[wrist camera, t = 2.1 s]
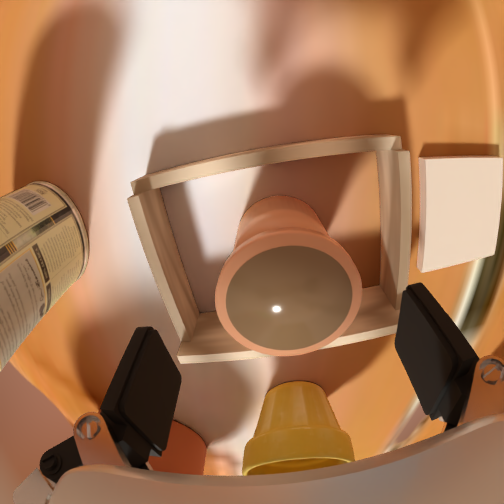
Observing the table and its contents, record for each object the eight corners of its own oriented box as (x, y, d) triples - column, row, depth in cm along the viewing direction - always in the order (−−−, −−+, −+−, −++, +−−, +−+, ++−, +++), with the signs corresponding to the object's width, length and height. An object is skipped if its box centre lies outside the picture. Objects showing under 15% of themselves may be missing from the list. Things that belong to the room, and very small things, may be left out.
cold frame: (384, 134, 16) (421, 139, 12) (387, 291, 21) (411, 329, 17) (145, 175, 18) (111, 192, 14) (193, 321, 23) (180, 363, 19)
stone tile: (495, 155, 16) (502, 157, 15) (488, 250, 19) (494, 254, 18) (418, 157, 17) (425, 159, 16) (416, 267, 20) (422, 273, 19)
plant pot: (250, 421, 30) (246, 490, 21) (242, 371, 26) (235, 459, 17) (333, 416, 30) (343, 483, 21) (346, 364, 25) (368, 448, 16)
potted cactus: (214, 469, 39) (202, 581, 17) (101, 439, 38) (68, 541, 15) (232, 418, 30) (216, 602, 7) (71, 373, 29) (2, 521, 6)
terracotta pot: (322, 182, 18) (361, 222, 11) (330, 271, 21) (359, 344, 14) (222, 199, 19) (196, 249, 11) (242, 285, 22) (233, 363, 14)
